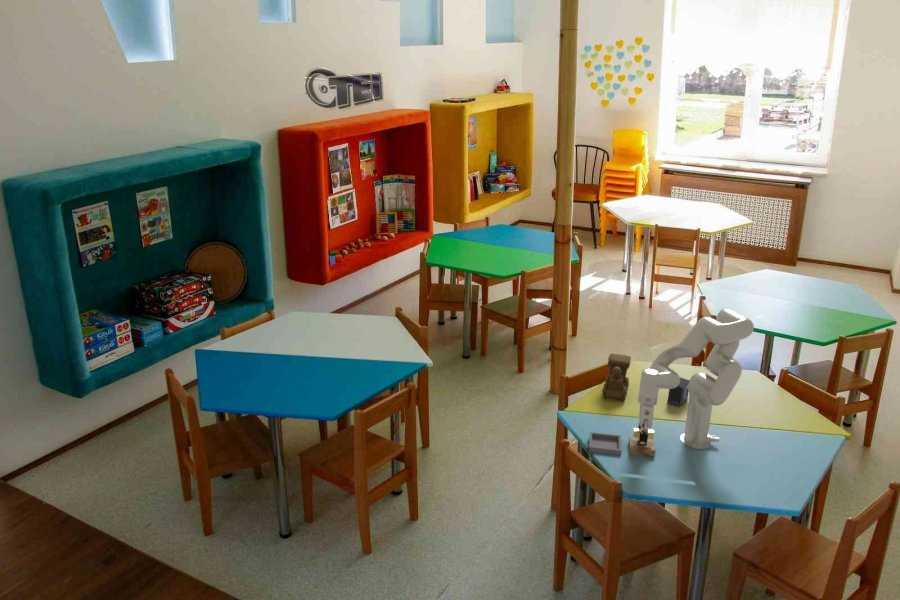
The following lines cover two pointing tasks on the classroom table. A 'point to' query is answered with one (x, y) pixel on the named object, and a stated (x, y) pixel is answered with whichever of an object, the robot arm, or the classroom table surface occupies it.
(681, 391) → the small box
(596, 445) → the tray
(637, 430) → the t key
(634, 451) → the socket block
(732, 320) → the robot arm
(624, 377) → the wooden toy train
